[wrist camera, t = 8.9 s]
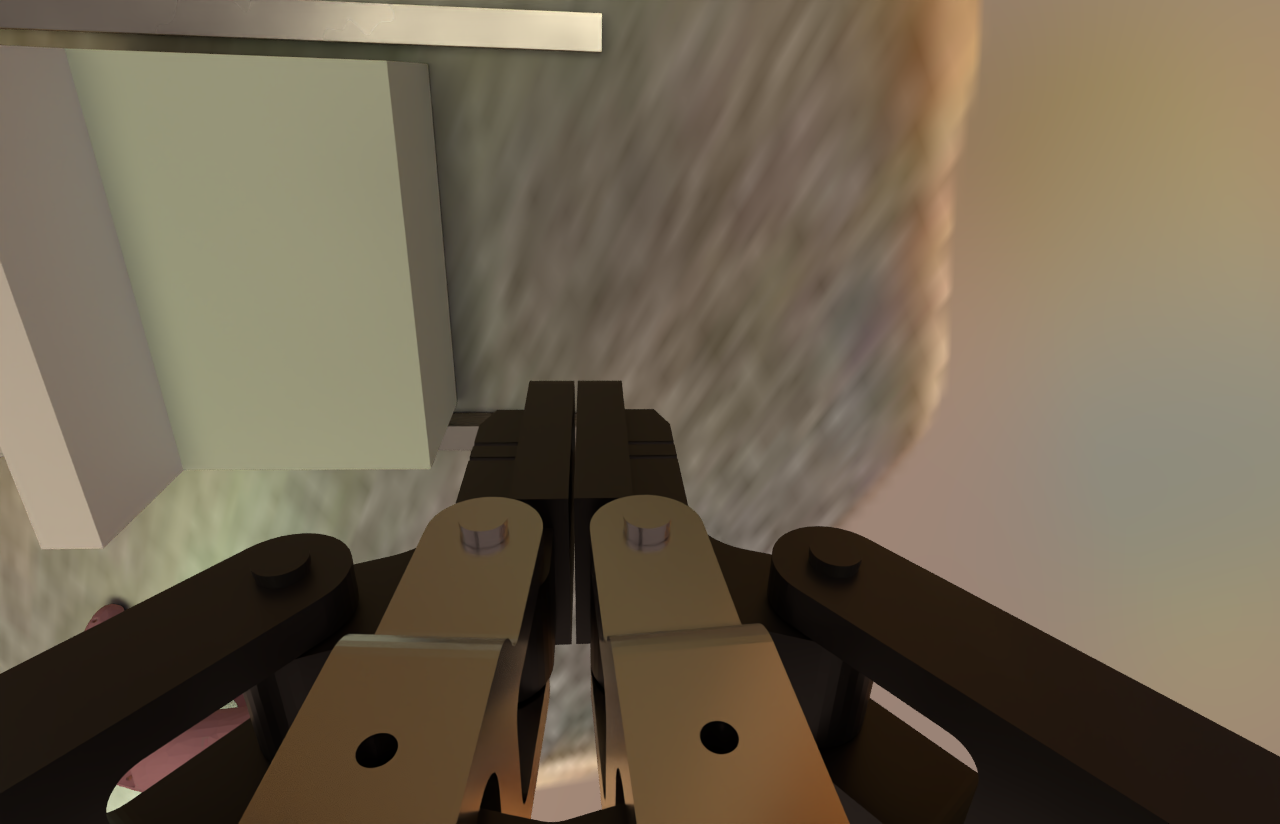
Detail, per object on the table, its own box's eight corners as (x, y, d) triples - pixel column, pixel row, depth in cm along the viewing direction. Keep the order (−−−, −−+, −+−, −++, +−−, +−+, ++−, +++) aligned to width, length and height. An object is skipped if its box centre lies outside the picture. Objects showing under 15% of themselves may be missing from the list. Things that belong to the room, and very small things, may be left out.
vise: (-304, -23, 20) (-917, -92, 12) (601, 16, 22) (609, -19, 14) (-91, 435, 26) (-395, 598, 18) (597, 435, 28) (601, 581, 20)
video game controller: (140, 635, 33) (72, 805, 29) (86, 595, 29) (-1, 783, 25) (358, 632, 34) (323, 797, 29) (332, 593, 30) (288, 775, 26)
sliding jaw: (122, 52, 21) (-165, 37, 13) (428, 63, 22) (333, 56, 14) (210, 402, 26) (41, 549, 18) (457, 403, 27) (400, 545, 19)
